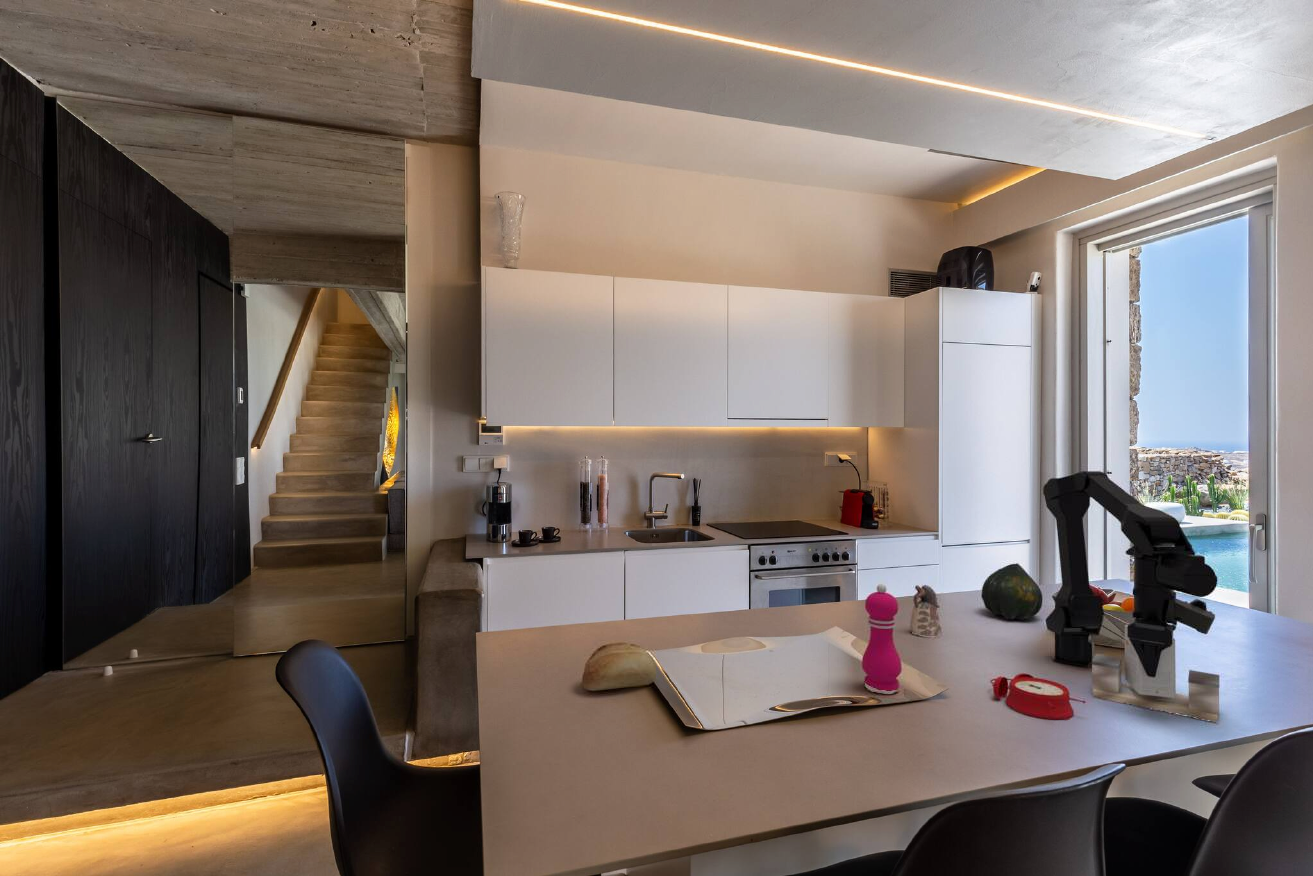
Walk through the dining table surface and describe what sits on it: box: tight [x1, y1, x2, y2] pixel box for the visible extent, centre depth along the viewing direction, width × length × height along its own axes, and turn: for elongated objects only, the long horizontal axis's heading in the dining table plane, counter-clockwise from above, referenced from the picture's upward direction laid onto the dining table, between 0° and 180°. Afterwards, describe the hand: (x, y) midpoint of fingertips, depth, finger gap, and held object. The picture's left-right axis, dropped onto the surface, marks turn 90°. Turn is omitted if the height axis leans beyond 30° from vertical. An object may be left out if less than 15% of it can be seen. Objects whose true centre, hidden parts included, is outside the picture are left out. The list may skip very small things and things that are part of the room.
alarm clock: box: [989, 672, 1086, 721], centre depth 118 cm, size 10×6×15 cm
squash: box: [981, 563, 1043, 621], centre depth 178 cm, size 14×15×15 cm
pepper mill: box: [861, 583, 903, 691], centre depth 125 cm, size 7×7×20 cm
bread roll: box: [581, 641, 657, 692], centre depth 126 cm, size 10×15×8 cm, turn 116°
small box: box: [1124, 624, 1177, 698], centre depth 119 cm, size 8×6×10 cm
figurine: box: [909, 584, 942, 636], centre depth 161 cm, size 7×7×12 cm
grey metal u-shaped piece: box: [1091, 653, 1220, 724], centre depth 118 cm, size 18×8×6 cm, turn 49°
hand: (1153, 669), depth 119 cm, fingers open, 9 cm apart
